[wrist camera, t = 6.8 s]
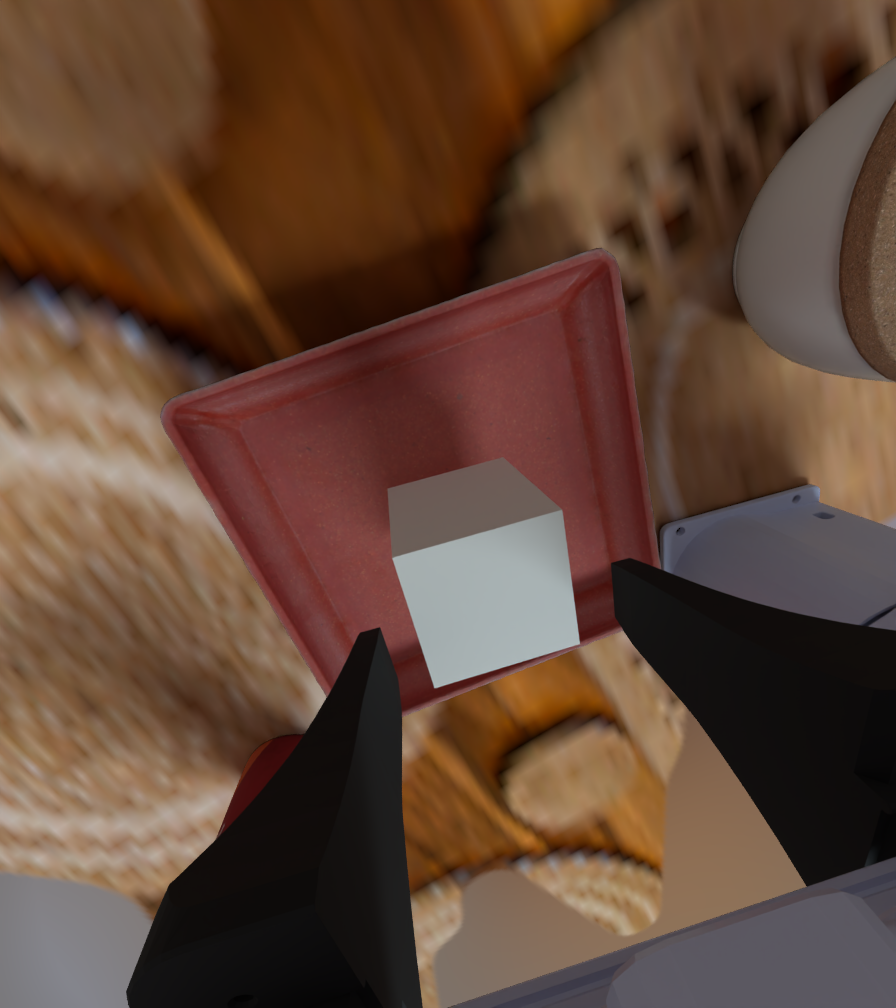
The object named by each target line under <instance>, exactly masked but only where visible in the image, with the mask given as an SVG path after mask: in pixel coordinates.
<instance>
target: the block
mask: <svg viewBox="0 0 896 1008" xmlns="http://www.w3.org/2000/svg"><path fill="white" fill-rule="evenodd" d="M388 504H389V519H390V534H391V548H392V559H393V562H394V565H395V568H396V571H397V574H398V577H399V580H400V584H401V587H402V590H403V593H404V596H405V599H406V602H407V605H408V608H409V611H410V614H411V617H412V620H413V623H414V627H415V630H416V633H417V636H418V639H419V642H420V645H421V648H422V651H423V654H424V657H425V660H426V663H427V666H428V669H429V673H430V676H431V679H432V682H433V685H434V688H438V687H441V686H444V685H447V684H451V683H454V682H457V681H460V680H464V679H467V678H470V677H474V676H477V675H480V674H483V673H487V672H490V671H493V670H497V669H500V668H503V667H506V666H510V665H513V664H516V663H519V662H523V661H526V660H529V659H533V658H536V657H539V656H542V655H546V654H549V653H552V652H556V651H559V650H562V649H565V648H569V647H572V646H575V645H578V644H580V641H579V633H578V625H577V618H576V610H575V602H574V595H573V587H572V580H571V572H570V564H569V557H568V549H567V542H566V534H565V526H564V519H563V511H562V509H561V508H560V507H559V506H558V505H556V504H555V503H554V502H553V501H552V500H551V499H550V498H549V497H547V496H546V495H545V494H544V493H543V492H542V491H541V490H540V489H538V488H537V487H536V486H535V485H534V484H533V483H532V482H531V481H529V480H528V479H527V478H526V477H525V476H524V475H523V474H522V473H520V472H519V471H518V470H517V469H516V468H515V467H514V466H513V465H511V464H510V463H509V462H508V461H507V460H506V459H505V458H504V457H502V458H498V459H495V460H491V461H487V462H484V463H480V464H476V465H473V466H469V467H465V468H462V469H458V470H454V471H451V472H447V473H443V474H440V475H436V476H432V477H428V478H425V479H421V480H417V481H414V482H410V483H406V484H403V485H399V486H395V487H392V488H388Z"/></svg>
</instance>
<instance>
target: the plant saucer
mask: <svg viewBox="0 0 896 1008" xmlns="http://www.w3.org/2000/svg"><path fill="white" fill-rule="evenodd" d="M160 418H161V422H162V425H163V428H164V430H165V432H166V434H167V435H168V437H169V438H170V440H171V441H172V443H173V445H174V446H175V448H176V450H177V451H178V453H179V454H180V456H181V457H182V459H183V461H184V463H185V465H186V466H187V468H188V470H189V471H190V473H191V475H192V476H193V478H194V480H195V481H196V483H197V485H198V487H199V488H200V490H201V492H202V493H203V495H204V496H205V498H206V499H207V501H208V503H209V504H210V506H211V507H212V509H213V511H214V513H215V515H216V516H217V518H218V520H219V522H220V523H221V525H222V526H223V528H224V529H225V531H226V533H227V534H228V536H229V538H230V540H231V541H232V543H233V544H234V546H235V547H236V549H237V551H238V553H239V554H240V556H241V557H242V559H243V560H244V562H245V565H246V567H247V568H248V570H249V572H250V573H251V575H252V576H253V578H254V579H255V580H256V582H257V583H258V585H259V587H260V588H261V590H262V592H263V594H264V595H265V597H266V599H267V600H268V601H269V603H270V605H271V606H272V608H273V610H274V612H275V613H276V614H277V616H278V618H279V620H280V621H281V623H282V624H283V626H284V627H285V629H286V631H287V633H288V635H289V636H290V638H291V639H292V641H293V642H294V644H295V645H296V647H297V649H298V651H299V652H300V654H301V656H302V657H303V659H304V660H305V662H306V664H307V665H308V667H309V668H310V670H311V672H312V673H313V675H314V677H315V679H316V681H317V682H318V684H319V685H320V686H321V688H322V690H323V691H324V693H325V695H326V697H327V696H328V695H329V693H330V691H331V689H332V687H333V685H334V683H335V682H336V680H337V678H338V676H339V674H340V672H341V670H342V668H343V666H344V664H345V662H346V660H347V658H348V656H349V654H350V651H351V649H352V647H353V645H354V643H355V641H356V639H357V636H358V635H359V633H360V632H364V631H368V630H371V629H375V628H378V627H380V628H381V631H382V634H383V637H384V640H385V642H386V645H387V648H388V651H389V654H390V657H391V660H392V662H393V665H394V668H395V671H396V674H397V677H398V681H399V690H400V698H401V708H402V717H403V716H406V715H409V714H411V713H413V712H416V711H419V710H421V709H423V708H426V707H429V706H432V705H434V704H437V703H439V702H441V701H444V700H447V699H450V698H452V697H454V696H457V695H460V694H462V693H465V692H467V691H470V690H472V689H475V688H477V687H479V686H483V685H485V684H488V683H490V682H493V681H496V680H498V679H501V678H503V677H505V676H508V675H510V674H513V673H516V672H519V671H521V670H523V669H525V668H528V667H531V666H534V665H537V664H539V663H542V662H544V661H546V660H549V659H552V658H554V657H557V656H559V655H562V654H564V653H567V652H569V651H572V650H574V649H577V648H580V647H583V646H585V645H588V644H590V643H592V642H594V641H597V640H600V639H603V638H606V637H608V636H610V635H613V634H615V633H618V632H621V631H623V629H622V627H621V626H620V624H619V623H618V621H617V620H616V618H615V613H614V600H613V587H612V574H611V563H612V562H616V561H620V560H623V559H627V558H632V559H635V560H638V561H641V562H643V563H646V564H648V565H651V566H654V567H656V568H659V569H661V564H660V559H659V552H658V544H657V536H656V531H655V524H654V514H653V509H652V501H651V497H650V488H649V482H648V471H647V465H646V461H645V454H644V441H643V435H642V429H641V424H640V415H639V409H638V400H637V395H636V388H635V380H634V369H633V365H632V359H631V351H630V343H629V336H628V327H627V322H626V314H625V303H624V299H623V294H622V285H621V277H620V271H619V267H618V264H617V261H616V259H615V257H614V256H613V255H611V254H610V253H609V252H607V251H606V250H604V249H603V248H596V249H592V250H589V251H586V252H583V253H580V254H578V255H575V256H573V257H570V258H567V259H564V260H561V261H558V262H555V263H552V264H550V265H547V266H544V267H541V268H538V269H535V270H533V271H530V272H528V273H525V274H523V275H520V276H517V277H514V278H511V279H508V280H505V281H502V282H499V283H496V284H493V285H491V286H488V287H485V288H482V289H479V290H477V291H474V292H471V293H468V294H465V295H462V296H459V297H457V298H454V299H452V300H449V301H445V302H443V303H440V304H437V305H435V306H431V307H428V308H425V309H423V310H421V311H418V312H415V313H412V314H409V315H406V316H403V317H400V318H397V319H395V320H392V321H390V322H387V323H384V324H381V325H378V326H374V327H371V328H369V329H367V330H364V331H362V332H358V333H354V334H351V335H349V336H347V337H344V338H341V339H338V340H336V341H333V342H331V343H328V344H325V345H322V346H319V347H316V348H313V349H310V350H307V351H304V352H301V353H299V354H296V355H293V356H290V357H288V358H285V359H282V360H279V361H276V362H273V363H270V364H266V365H264V366H261V367H259V368H256V369H253V370H250V371H247V372H244V373H241V374H238V375H235V376H233V377H230V378H227V379H224V380H222V381H219V382H216V383H213V384H210V385H207V386H204V387H202V388H199V389H195V390H192V391H188V392H185V393H182V394H180V395H177V396H175V397H173V398H171V399H169V400H168V401H167V402H166V403H165V404H164V406H163V408H162V411H161V415H160ZM502 457H504V458H505V459H506V460H507V461H508V462H509V463H510V464H511V465H513V466H514V467H515V468H516V469H517V470H518V471H519V472H520V473H522V474H523V475H524V476H525V477H526V478H527V479H528V480H529V481H531V482H532V483H533V484H534V485H535V486H536V487H537V488H538V489H540V490H541V491H542V492H543V493H544V494H545V495H546V496H547V497H549V498H550V499H551V500H552V501H553V502H554V503H555V504H556V505H558V506H559V507H560V508H561V509H562V511H563V519H564V526H565V534H566V542H567V549H568V557H569V564H570V572H571V580H572V587H573V595H574V602H575V610H576V618H577V625H578V633H579V641H580V644H578V645H575V646H572V647H569V648H565V649H562V650H559V651H556V652H552V653H549V654H546V655H542V656H539V657H536V658H533V659H529V660H526V661H523V662H519V663H516V664H513V665H510V666H506V667H503V668H500V669H497V670H493V671H490V672H487V673H483V674H480V675H477V676H474V677H470V678H467V679H464V680H460V681H457V682H454V683H451V684H447V685H444V686H441V687H438V688H434V685H433V682H432V679H431V676H430V673H429V669H428V666H427V663H426V660H425V657H424V654H423V651H422V648H421V645H420V642H419V639H418V636H417V633H416V630H415V627H414V623H413V620H412V617H411V614H410V611H409V608H408V605H407V602H406V599H405V596H404V593H403V590H402V587H401V584H400V580H399V577H398V574H397V571H396V568H395V565H394V562H393V559H392V548H391V534H390V519H389V504H388V488H392V487H395V486H399V485H403V484H406V483H410V482H414V481H417V480H421V479H425V478H428V477H432V476H436V475H440V474H443V473H447V472H451V471H454V470H458V469H462V468H465V467H469V466H473V465H476V464H480V463H484V462H487V461H491V460H495V459H498V458H502Z"/></svg>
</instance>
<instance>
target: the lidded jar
mask: <svg viewBox="0 0 896 1008" xmlns="http://www.w3.org/2000/svg"><path fill="white" fill-rule="evenodd" d="M732 274H733V285H734V289H735V294H736V296H737V299H738V301H739V304H740V305H741V308H742V310H743V312H744V315H745V317H746V320H747V321H748V323H749V325H750V326H751V328H752V329H753V331H754V332H755V333H756V334H757V335H758V336H759V338H760V339H761V340H762V341H763V342H764V343H765V344H766V345H767V346H768V347H769V348H771V349H773V350H774V351H776V352H777V353H779V354H780V355H782V356H784V357H785V358H787V359H789V360H790V361H792V362H795V363H798V364H800V365H803V366H806V367H809V368H812V369H815V370H818V371H821V372H824V373H829V374H834V375H839V376H844V377H850V378H858V379H866V380H875V381H884V382H896V56H895V57H894V58H893V59H891V60H890V61H888V62H887V63H885V64H884V65H883V66H881V67H880V68H878V69H877V70H875V71H874V72H873V73H871V74H870V75H868V76H867V77H866V78H864V79H863V80H862V81H861V82H859V83H858V84H857V85H856V86H855V87H853V88H852V89H851V90H850V91H849V92H847V93H846V94H845V95H844V96H842V97H841V98H840V99H839V100H838V101H836V102H835V103H834V104H833V105H832V106H830V107H829V108H828V109H827V110H826V111H825V112H823V113H822V114H821V115H820V116H819V117H818V118H817V119H816V120H815V121H814V122H813V123H812V124H811V125H810V126H809V127H808V128H807V129H806V131H805V132H804V133H803V134H802V135H801V136H800V137H799V138H798V139H797V140H796V141H795V142H794V143H793V145H792V146H791V147H790V148H789V149H788V150H787V151H786V153H785V154H784V155H783V157H782V158H781V159H780V161H779V162H778V164H777V165H776V166H775V168H774V169H773V171H772V172H771V174H770V175H769V177H768V178H767V180H766V181H765V183H764V184H763V186H762V188H761V190H760V192H759V193H758V195H757V197H756V199H755V201H754V203H753V205H752V208H751V210H750V212H749V215H748V217H747V219H746V222H745V224H744V226H743V228H742V230H741V233H740V235H739V238H738V241H737V244H736V248H735V253H734V258H733V271H732Z"/></svg>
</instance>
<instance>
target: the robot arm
mask: <svg viewBox="0 0 896 1008" xmlns="http://www.w3.org/2000/svg"><path fill="white" fill-rule="evenodd" d="M819 497H820V489H819V487H817V486H814V485H811V484H809V485H805V486H801V487H797V488H794V489H790V490H787V491H783V492H779V493H776V494H772V495H768V496H765V497H761V498H758V499H754V500H750V501H747V502H743V503H740V504H736V505H732V506H729V507H725V508H722V509H718V510H714V511H711V512H707V513H703V514H700V515H696V516H693V517H689V518H685V519H682V520H678V521H675V522H671V523H668V524H666V525H664V526H663V527H662V528H661V530H660V564H661V569H659V568H656V567H654V566H651V565H648V564H646V563H643V562H641V561H638V560H635V559H632V558H627V559H623V560H620V561H616V562H612V563H611V574H612V587H613V600H614V613H615V618H616V620H617V621H618V623H619V624H620V626H621V627H622V629H623V631H624V632H625V634H626V635H627V637H628V638H629V639H630V641H631V642H632V644H633V645H634V646H635V648H636V649H637V650H638V651H639V652H640V654H641V655H642V656H643V657H644V658H645V660H646V661H647V662H648V663H649V664H650V665H651V667H652V668H653V669H654V670H655V671H656V672H657V673H658V675H659V676H660V677H661V678H662V679H663V680H664V682H665V683H666V684H667V685H668V686H669V687H670V688H671V690H672V691H673V692H674V693H675V694H676V695H677V697H678V698H679V699H680V700H681V701H682V702H683V703H684V705H685V706H686V707H687V708H688V710H689V711H690V712H691V713H692V714H693V716H694V717H695V718H696V719H697V721H698V722H699V723H700V725H701V726H702V728H703V729H704V730H705V732H706V733H707V734H708V736H709V737H710V738H711V740H712V742H713V743H714V744H715V746H716V747H717V749H718V750H719V751H720V753H721V754H722V756H723V757H724V759H725V760H726V761H727V763H728V764H729V766H730V767H731V769H732V770H733V772H734V773H735V775H736V776H737V778H738V779H739V781H740V782H741V783H742V785H743V786H744V788H745V789H746V791H747V792H748V794H749V796H750V797H751V799H752V800H753V802H754V803H755V805H756V806H757V808H758V809H759V811H760V812H761V814H762V815H763V817H764V819H765V820H766V822H767V823H768V825H769V826H770V828H771V829H772V831H773V833H774V834H775V836H776V837H777V839H778V840H779V842H780V844H781V845H782V847H783V848H784V850H785V852H786V853H787V855H788V857H789V858H790V860H791V862H792V863H793V865H794V867H795V868H796V870H797V871H798V873H799V875H800V876H801V878H802V879H803V881H804V883H805V884H806V886H807V887H805V888H802V889H799V890H796V891H793V892H790V893H787V894H784V895H781V896H778V897H775V898H772V899H769V900H766V901H763V902H760V903H757V904H754V905H751V906H748V907H745V908H743V909H739V910H737V911H734V912H730V913H727V914H724V915H721V916H719V917H716V918H713V919H710V920H707V921H704V922H701V923H698V924H695V925H692V926H689V927H686V928H683V929H680V930H677V931H674V932H671V933H668V934H665V935H662V936H659V937H656V938H653V939H650V940H647V941H644V942H641V943H638V944H635V945H632V946H629V947H626V948H624V949H621V950H617V951H614V952H612V953H609V954H606V955H603V956H600V957H597V958H594V959H591V960H588V961H585V962H582V963H579V964H576V965H573V966H570V967H567V968H564V969H561V970H558V971H555V972H552V973H549V974H546V975H543V976H540V977H537V978H535V979H532V980H528V981H525V982H522V983H519V984H516V985H514V986H510V987H508V988H504V989H502V990H499V991H496V992H493V993H490V994H487V995H484V996H481V997H478V998H475V999H472V1000H469V1001H466V1002H463V1003H460V1004H457V1005H454V1006H451V1007H448V1008H896V529H894V528H891V527H888V526H886V525H883V524H880V523H877V522H874V521H871V520H869V519H866V518H863V517H860V516H857V515H854V514H852V513H849V512H846V511H843V510H840V509H837V508H835V507H832V506H829V505H826V504H823V503H820V502H819ZM678 528H680V530H679V531H678V532H677V530H678ZM126 993H127V1000H128V1005H129V1007H130V1008H423V1006H422V998H421V990H420V981H419V973H418V965H417V956H416V947H415V938H414V928H413V919H412V910H411V900H410V890H409V880H408V869H407V859H406V848H405V836H404V824H403V813H402V708H401V698H400V690H399V681H398V677H397V674H396V671H395V668H394V665H393V662H392V660H391V657H390V654H389V651H388V648H387V645H386V642H385V640H384V637H383V634H382V631H381V628H380V627H378V628H375V629H371V630H368V631H364V632H360V633H359V635H358V636H357V639H356V641H355V643H354V645H353V647H352V649H351V651H350V654H349V656H348V658H347V660H346V662H345V664H344V666H343V668H342V670H341V672H340V674H339V676H338V678H337V680H336V682H335V683H334V685H333V687H332V689H331V691H330V693H329V695H328V696H327V698H326V700H325V701H324V703H323V705H322V707H321V708H320V710H319V712H318V713H317V715H316V717H315V718H314V720H313V722H312V723H311V725H310V726H309V728H308V729H307V731H306V732H305V734H304V735H303V737H302V738H301V740H300V741H299V743H298V744H297V746H296V747H295V748H294V750H293V751H292V753H291V754H290V755H289V757H288V758H287V759H286V760H285V762H284V763H283V764H282V765H281V767H280V768H279V769H278V770H277V772H276V773H275V774H274V775H273V777H272V778H271V779H270V780H269V782H268V783H267V784H266V785H265V787H264V788H263V789H262V790H261V791H260V793H259V794H258V795H257V796H256V797H255V798H254V799H253V801H252V802H251V803H250V804H249V805H248V806H247V807H246V808H245V810H244V811H243V812H242V813H241V814H240V815H239V816H238V817H237V818H236V819H235V820H234V821H233V822H232V824H231V825H230V826H229V827H228V828H227V829H226V830H225V831H224V832H223V833H222V834H221V835H220V836H219V837H218V838H217V839H216V840H215V841H214V842H213V843H212V844H211V845H210V846H209V847H208V848H207V849H206V850H205V851H204V852H203V853H202V854H201V855H200V856H199V857H198V858H197V859H196V860H195V861H194V862H193V863H192V864H190V865H189V866H188V867H187V868H186V869H185V870H184V871H183V872H182V873H181V874H180V875H179V876H178V877H177V878H176V879H175V880H174V881H173V882H172V883H170V884H169V886H168V889H167V891H166V893H165V895H164V898H163V900H162V902H161V904H160V907H159V909H158V911H157V913H156V916H155V918H154V921H153V924H152V926H151V929H150V932H149V934H148V937H147V939H146V942H145V944H144V947H143V950H142V952H141V955H140V957H139V960H138V963H137V965H136V967H135V970H134V973H133V975H132V978H131V980H130V983H129V986H128V988H127V991H126Z"/></svg>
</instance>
